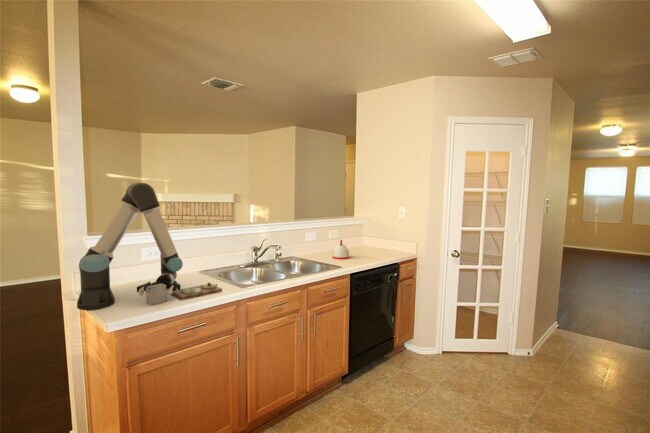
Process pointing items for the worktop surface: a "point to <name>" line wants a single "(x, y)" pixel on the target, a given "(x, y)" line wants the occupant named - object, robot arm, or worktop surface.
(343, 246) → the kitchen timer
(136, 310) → the worktop surface
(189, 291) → the gear board
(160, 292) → the medicine box
